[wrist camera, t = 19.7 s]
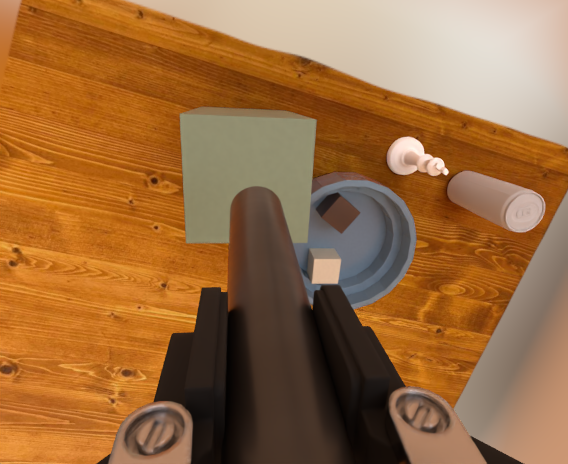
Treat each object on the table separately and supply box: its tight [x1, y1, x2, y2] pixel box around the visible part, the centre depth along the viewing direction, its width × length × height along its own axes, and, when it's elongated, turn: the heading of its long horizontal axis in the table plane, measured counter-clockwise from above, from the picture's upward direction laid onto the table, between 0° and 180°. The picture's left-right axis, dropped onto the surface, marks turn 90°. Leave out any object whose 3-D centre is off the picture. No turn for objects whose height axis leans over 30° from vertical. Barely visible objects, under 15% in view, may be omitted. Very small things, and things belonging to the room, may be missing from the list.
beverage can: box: [447, 171, 545, 232], centre depth 45 cm, size 5×5×12 cm
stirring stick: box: [221, 186, 356, 464], centre depth 12 cm, size 3×3×14 cm
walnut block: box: [316, 192, 360, 234], centre depth 47 cm, size 4×4×4 cm
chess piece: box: [387, 137, 449, 176], centre depth 43 cm, size 5×5×10 cm
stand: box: [180, 107, 317, 243], centre depth 37 cm, size 10×10×18 cm
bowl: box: [293, 172, 417, 309], centre depth 48 cm, size 18×18×6 cm
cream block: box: [307, 248, 341, 284], centre depth 49 cm, size 4×4×4 cm
